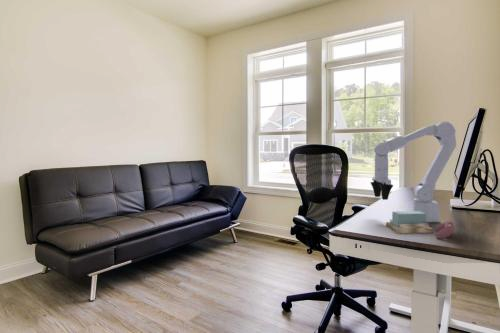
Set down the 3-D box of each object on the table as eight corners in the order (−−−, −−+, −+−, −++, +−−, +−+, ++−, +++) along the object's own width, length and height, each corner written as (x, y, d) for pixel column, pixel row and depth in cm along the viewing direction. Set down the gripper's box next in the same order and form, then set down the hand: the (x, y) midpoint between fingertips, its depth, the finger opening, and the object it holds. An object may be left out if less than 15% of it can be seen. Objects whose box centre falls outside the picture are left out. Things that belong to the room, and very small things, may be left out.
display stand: (416, 225, 125) (416, 218, 125) (433, 232, 114) (433, 224, 114) (386, 225, 125) (386, 218, 125) (399, 233, 114) (399, 225, 114)
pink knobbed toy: (447, 244, 105) (459, 228, 103) (434, 237, 107) (445, 220, 105) (446, 237, 113) (456, 221, 111) (433, 230, 115) (443, 215, 113)
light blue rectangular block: (418, 223, 122) (418, 211, 121) (425, 225, 117) (425, 213, 117) (392, 223, 121) (392, 211, 121) (398, 226, 117) (398, 214, 117)
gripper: (366, 168, 144) (366, 195, 145) (379, 170, 130) (379, 201, 130) (380, 167, 144) (380, 195, 145) (395, 170, 130) (395, 200, 131)
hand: (381, 198), depth 138 cm, fingers open, 7 cm apart
